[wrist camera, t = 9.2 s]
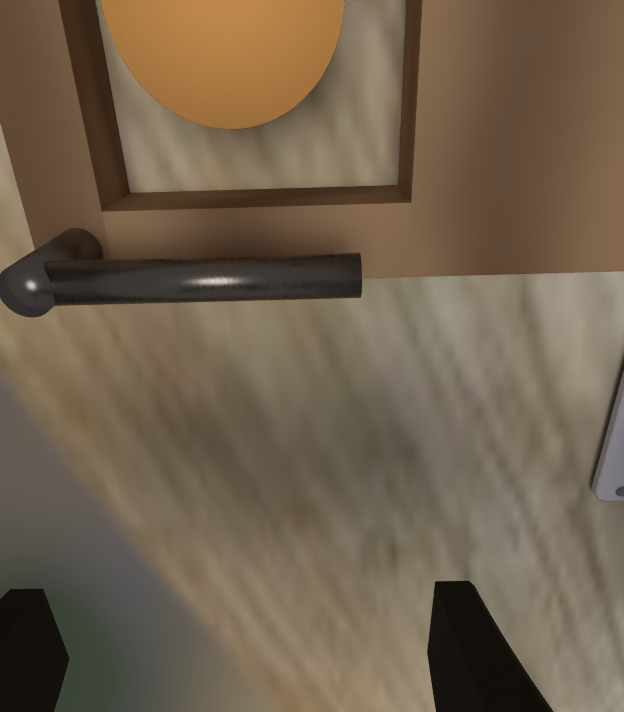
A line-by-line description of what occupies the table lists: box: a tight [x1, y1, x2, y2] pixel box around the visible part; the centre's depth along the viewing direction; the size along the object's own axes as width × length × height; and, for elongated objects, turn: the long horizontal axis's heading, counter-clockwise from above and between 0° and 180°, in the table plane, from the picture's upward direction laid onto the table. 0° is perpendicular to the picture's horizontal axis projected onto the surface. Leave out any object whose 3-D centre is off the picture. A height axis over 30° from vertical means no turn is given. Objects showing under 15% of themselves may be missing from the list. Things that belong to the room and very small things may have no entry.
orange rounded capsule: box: [101, 0, 345, 129], centre depth 12 cm, size 4×4×5 cm
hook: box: [0, 228, 362, 317], centre depth 14 cm, size 8×1×6 cm, turn 92°
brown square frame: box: [0, 0, 624, 278], centre depth 13 cm, size 16×12×2 cm
